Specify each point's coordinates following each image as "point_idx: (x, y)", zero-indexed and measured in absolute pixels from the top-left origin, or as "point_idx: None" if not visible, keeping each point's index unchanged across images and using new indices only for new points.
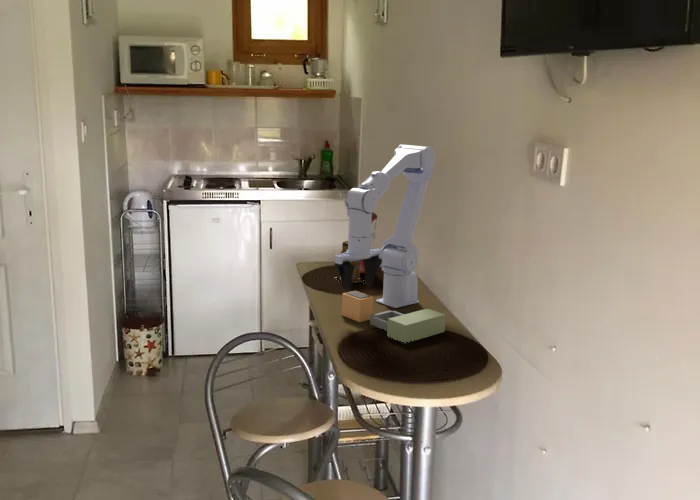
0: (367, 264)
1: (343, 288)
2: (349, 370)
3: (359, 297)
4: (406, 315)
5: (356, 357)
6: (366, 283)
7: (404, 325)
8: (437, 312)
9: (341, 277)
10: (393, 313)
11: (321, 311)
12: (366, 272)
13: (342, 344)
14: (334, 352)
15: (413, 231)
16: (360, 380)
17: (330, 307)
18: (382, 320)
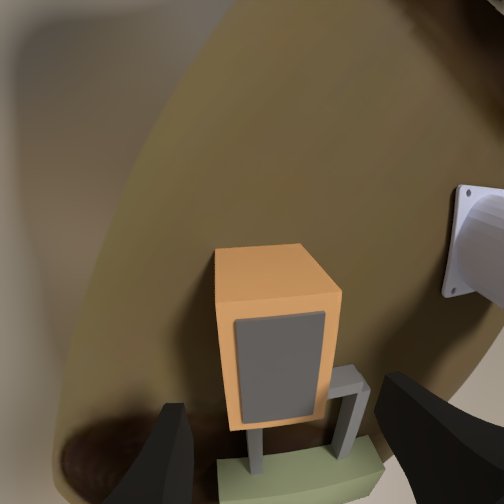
0: (460, 489)
1: (163, 409)
2: (64, 485)
3: (246, 417)
4: (288, 497)
5: (89, 476)
6: (385, 389)
7: None
8: (369, 488)
9: (135, 473)
10: (354, 395)
11: (161, 144)
12: (431, 435)
13: (81, 438)
14: (53, 447)
15: None
16: (71, 499)
17: (245, 112)
18: (255, 443)
